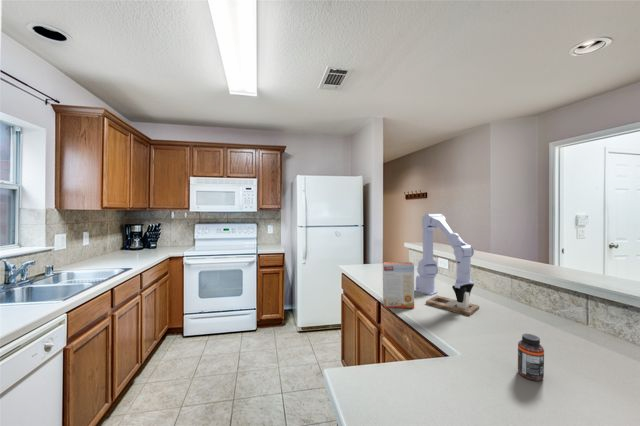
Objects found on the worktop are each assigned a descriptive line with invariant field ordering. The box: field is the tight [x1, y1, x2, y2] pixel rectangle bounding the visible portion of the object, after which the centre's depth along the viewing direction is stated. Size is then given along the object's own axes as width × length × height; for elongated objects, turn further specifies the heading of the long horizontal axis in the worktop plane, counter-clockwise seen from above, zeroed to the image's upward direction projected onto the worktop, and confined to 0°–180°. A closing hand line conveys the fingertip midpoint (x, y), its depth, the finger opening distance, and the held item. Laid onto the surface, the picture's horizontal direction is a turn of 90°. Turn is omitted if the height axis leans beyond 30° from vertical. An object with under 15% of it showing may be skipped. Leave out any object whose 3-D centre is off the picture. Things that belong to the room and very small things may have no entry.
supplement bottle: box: [517, 333, 545, 382], centre depth 79 cm, size 6×6×11 cm
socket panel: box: [425, 295, 480, 317], centre depth 132 cm, size 20×12×2 cm, turn 43°
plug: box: [457, 292, 470, 310], centre depth 128 cm, size 4×4×8 cm
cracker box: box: [382, 261, 415, 309], centre depth 133 cm, size 14×6×21 cm, turn 84°
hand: (463, 300), depth 128 cm, fingers open, 7 cm apart
